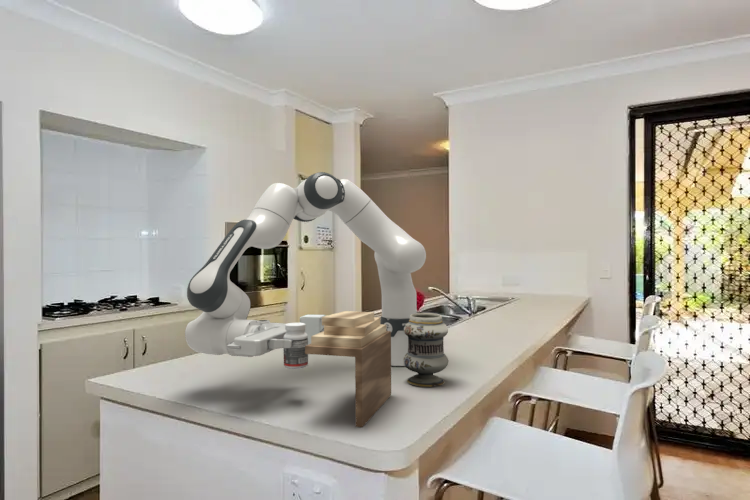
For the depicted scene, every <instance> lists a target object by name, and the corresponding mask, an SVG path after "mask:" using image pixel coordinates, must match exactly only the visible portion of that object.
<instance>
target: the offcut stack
mask: <svg viewBox="0 0 750 500" xmlns="http://www.w3.org/2000/svg"><path fill="white" fill-rule="evenodd" d="M380 320H381V316H379V317H378V316H377V317H376V316H375V312H373V311H372V312H371V311H356V310H351V311H350V310H343V311H340V312H335V313H332V314H328V315H325V316H324V317H322V325H323V326H324V331H323V332H320V333H318V334H316V335H313V336H311V345H322V346H339V347H356V348H361V347H363V346H365V345H366V344H368V343H370V342H371V341H373V340H374V339H376V338H378V337H379V336H381V335H383V334H384V333H386V325H383V324H380Z"/></svg>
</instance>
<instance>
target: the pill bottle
mask: <svg viewBox="0 0 750 500" xmlns="http://www.w3.org/2000/svg"><path fill="white" fill-rule="evenodd" d="M284 324H285V330H286V334H285V335H284V337H283V339H292V340H293V344H294V345H293V347H291V348H282V350H283V367H284V368H286V369H289V370H296V369H298V370H300V369H304V368H306V367H307V366H309V354H305V346H307V345H308V335H307V334H306V333H305V331H304V330H305V323H300V322H289V323H284Z"/></svg>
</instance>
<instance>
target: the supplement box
mask: <svg viewBox="0 0 750 500" xmlns="http://www.w3.org/2000/svg"><path fill="white" fill-rule="evenodd" d="M324 316H326V314H305V315H302V316H300V317H299V323H305V330H304V331H305V333H306V334H307V335H308V345H309V344H311V336H313V335H316V334H318V333H320V332H323V331H324V326H323V325H322V317H324Z"/></svg>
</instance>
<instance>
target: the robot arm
mask: <svg viewBox="0 0 750 500" xmlns="http://www.w3.org/2000/svg"><path fill="white" fill-rule="evenodd" d="M251 210H252V211H251V212H250V214H249V215H248V216H247V217H246V218H245V219H241V220H239V221H238V222H237V223H236V224H234V226H233V227H232V228H231V229H230V230H229V232H227V234H226V235H225V237H223V239H222V241H221V242H220V243H219V245H218V246H217V248H216V249H215V251H214V252H213V254H212V255H211V256H210V257H209V259H208V260H207V261H206V263H205V264H204V265H203V266H202V267H201V268H200V269H199V270H198V271H197V272H196V273H195V274H194V275H193V276H192V277H191V279H190V280H189V282H188V284H187V288H186V297H187V301H188V302H189V304H190V305H191V306H192V307H194V308H196V309H197V310H200V311H201V312H202V313H201V314H200V315H199V316H198V317H196V318H194V319H193V320H191V321H189V322H188V323H187V325H186V326H185V330H184V336H185V341H186V344H187V346H188V347H189V348H190V349H191V350H193V352H196V353H200V354H205V355H211V356H212V355H215V356H222V355H229V356H232V357H247V358H252V357H258V356H259V357H260V356H263V355H265V354H268V353H270V352H273V351H274V350H279V349H283V348H291V347H293V345H294V344H293V340H292V339H283V337H284V335H285V334H286V330H285V324H286V323H282V322H271V321H270V320H269V319H260V320H257V319H256V320H255V319H248V317H249V314H250V311H251V305H252V304H251V299H250V297H249V295H248V294H246V292H245V291H243V290H242V289H241V288H240V287H239V286H237V285H236V284H235V283H234V282H232V281H231V279H230V274H231V272H232V270H233V269H234V267H235V265H236V264H237V262H239V260H240V259H241V257H242V255H243V254H244V253H245V251H246V250H247V249H248V248H251V247H253V248H257V249H261V250H270V249H274V248H276V247H277V246H279V245H281V243H282V241H284V239H285V237H286V235H287V233H288V231H289V229H290V227H291V225H292V222H293V220H296V221H297V222H302V223H309V222H312V221H314V220H315V219H317V218H319V217H321V216H323V215H325V214H326V213H327V212H328V211H329V212H332V213H334V214H335V215H336V216H337V217H338V218H339V219H340V220H341V222H343V223H344V224H345V225H346V227H348V229H349V230H350V231H352V233H353V234H354V235H355V236H356V237H357V238H358V239H359V240H360V242H362V243H363V244H365V245H366V246H367V247H368V248H370V249H371V250H372V251H374V256H373V257H374V260H375V263H376V266H377V272H378V273H377V274H378V278H379V284H380V291H381V293H380V294H381V316H380V324H383V325H386V331H391V367H392V366H393V367H396V366H397V367H406V366H405V365H404V363H403V358H404V356H405V355H406V353H408V336H407V335H406V334H405V333H404V326H405V325H406V324H407V323H408V322H409V320H410V315H411V314H415V313H418V312H417V311H418V310H417V309H418V308H417V302H418V301H417V297H418V296H417V290H416V288H415V286H414V283H413V278H412V273H415V272H416V271H419V270H421V268H422V267H423V266H424V265H425V262H426V260H427V252H426V249H425V246H424V245H423V244H422V243H421V242H420V241H418V240H416V239H415V238H413V237H412V236H411V235H410V234H409V233H408V232H406V231H405V230H404V229H403V228H402V227H400V226H399V225H398V224H396V222H394V221H393V220H391V218H390V217H388V216H387V215H386V214H385V212H383V210H382V209H381V208H380V207H379V206H378V205H377V204H376V203H375V202H374V200H372V198H371V197H369V195H367V194H366V193H365V192H364V191H363V190H362V189H361V188H360V187H358V186H357V184H355V183H354V182H352V181H351V180H350V179H347V178H342V179H339V178H336V176H334V175H332V174H330V173H328V172H323V171H319V172H316V173H313V174H310V175H309V176H308V177H307V178H305V179H304V180H303V181H301V182H300V183H299V184H298V185H297V186H296V187H292V186H290V185H289V184H285V183H283V182H274V183H272V184H270V185H269V186H268V187H267V188H266V189H265V190H264V192H263V193H262V194H261V196H260V197H259V199H258V200H257V202H256V203H255V205H254V207H253V208H252V209H251Z"/></svg>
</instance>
